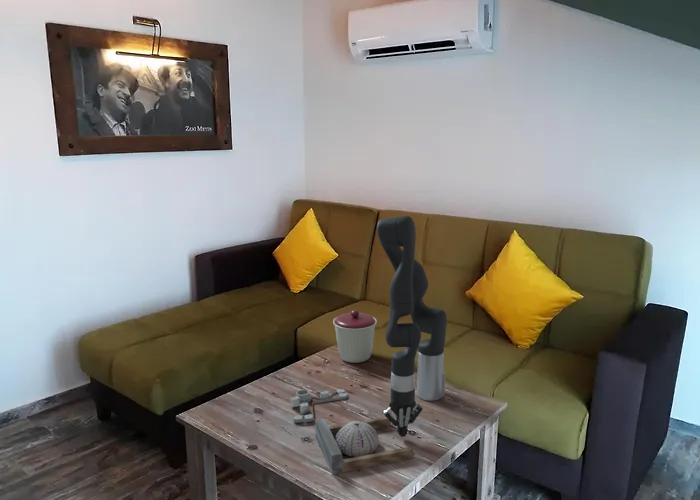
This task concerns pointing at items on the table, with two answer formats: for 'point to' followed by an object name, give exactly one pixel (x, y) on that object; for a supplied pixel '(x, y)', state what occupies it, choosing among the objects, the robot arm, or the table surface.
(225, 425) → the table surface
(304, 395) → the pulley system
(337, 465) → the track
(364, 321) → the canister
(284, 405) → the table surface
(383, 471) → the table surface
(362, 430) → the sea urchin shell
